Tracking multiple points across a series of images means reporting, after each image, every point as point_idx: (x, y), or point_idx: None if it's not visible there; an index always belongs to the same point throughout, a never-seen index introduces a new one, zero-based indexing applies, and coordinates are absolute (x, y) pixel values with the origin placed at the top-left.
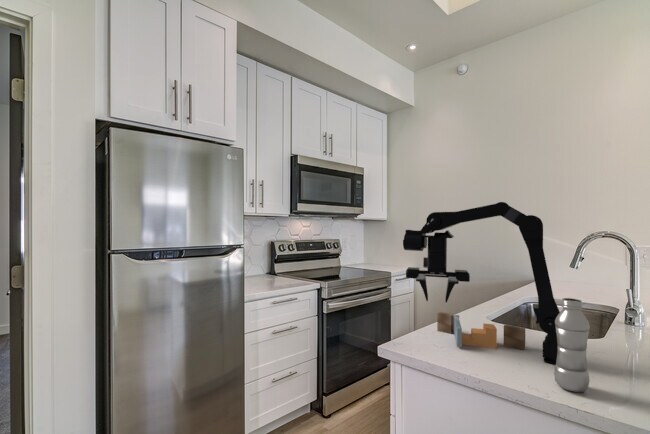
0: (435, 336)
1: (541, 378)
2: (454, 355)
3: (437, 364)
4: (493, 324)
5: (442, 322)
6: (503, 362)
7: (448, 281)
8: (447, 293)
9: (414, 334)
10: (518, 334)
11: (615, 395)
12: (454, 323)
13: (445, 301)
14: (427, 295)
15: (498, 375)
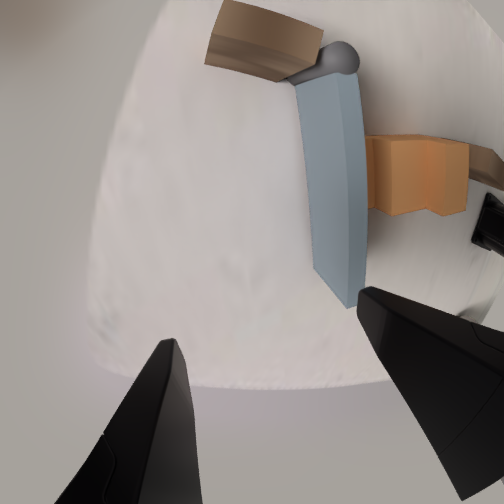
0: (209, 159)
1: None
2: (301, 321)
3: (261, 387)
4: (468, 148)
5: (240, 57)
6: (407, 291)
7: (472, 495)
8: (414, 399)
9: (112, 187)
10: (489, 183)
11: (479, 311)
12: (315, 84)
13: (360, 311)
14: (194, 429)
15: (376, 357)
